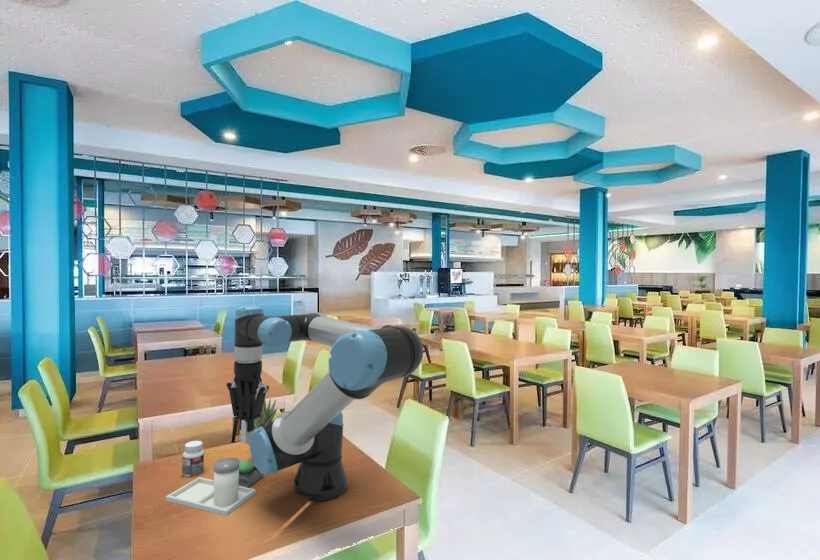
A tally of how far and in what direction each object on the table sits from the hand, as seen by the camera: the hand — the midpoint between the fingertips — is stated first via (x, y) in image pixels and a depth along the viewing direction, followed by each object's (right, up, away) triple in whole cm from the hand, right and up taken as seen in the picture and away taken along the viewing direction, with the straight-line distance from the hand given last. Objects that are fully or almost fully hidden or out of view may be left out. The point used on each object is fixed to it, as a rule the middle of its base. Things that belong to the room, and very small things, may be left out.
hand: (246, 441), depth 126 cm
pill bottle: (-17, -12, +4) cm, 21 cm away
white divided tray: (-6, -12, -10) cm, 17 cm away
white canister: (-1, -11, -11) cm, 16 cm away
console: (0, -12, 0) cm, 12 cm away
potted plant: (-1, -12, +16) cm, 20 cm away
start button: (0, -8, 0) cm, 8 cm away
